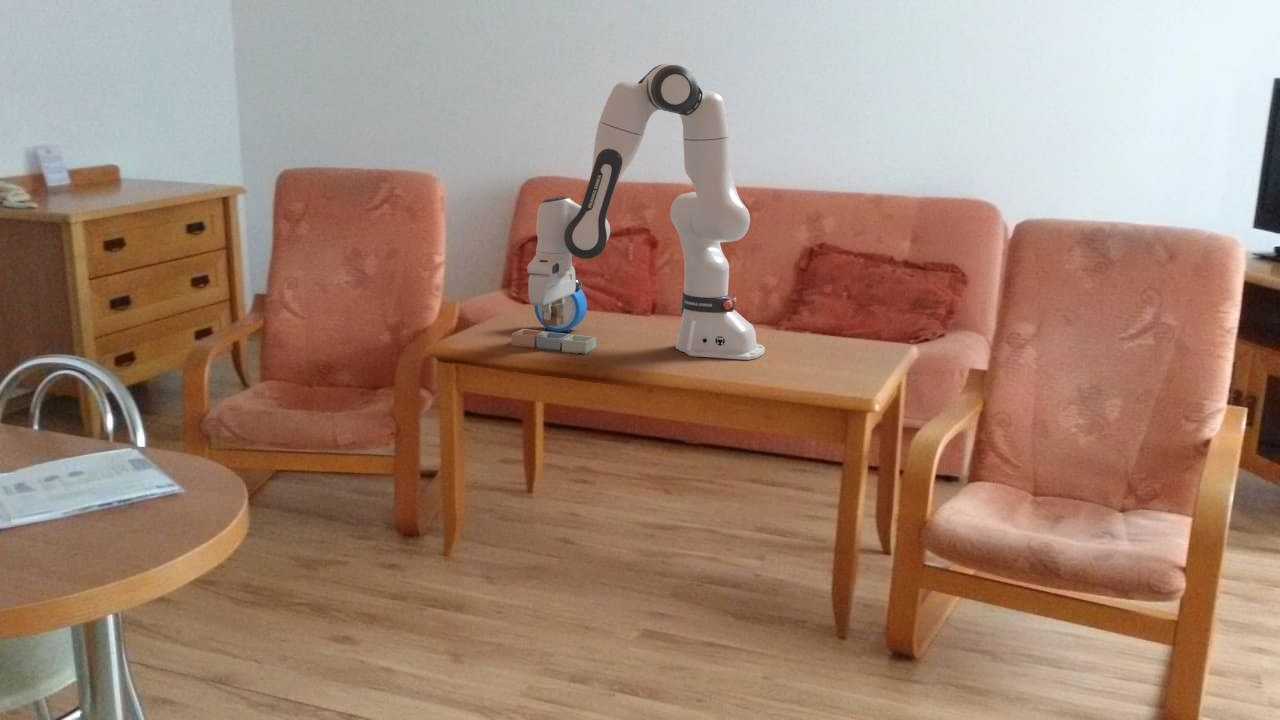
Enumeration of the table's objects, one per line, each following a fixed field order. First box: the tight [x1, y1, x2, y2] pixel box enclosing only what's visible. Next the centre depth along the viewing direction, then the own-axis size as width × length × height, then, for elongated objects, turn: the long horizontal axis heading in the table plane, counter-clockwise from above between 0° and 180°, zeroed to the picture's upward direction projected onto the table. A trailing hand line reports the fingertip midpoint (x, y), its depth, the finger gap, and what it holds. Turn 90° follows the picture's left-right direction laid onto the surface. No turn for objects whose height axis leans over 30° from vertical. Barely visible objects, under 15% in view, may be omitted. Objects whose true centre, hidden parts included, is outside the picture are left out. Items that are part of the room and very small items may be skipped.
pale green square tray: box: [561, 334, 597, 355], centre depth 281 cm, size 6×6×3 cm
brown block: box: [541, 303, 564, 326], centre depth 281 cm, size 4×4×5 cm
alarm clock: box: [533, 276, 588, 334], centre depth 300 cm, size 13×6×15 cm, turn 71°
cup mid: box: [536, 331, 571, 352], centre depth 283 cm, size 6×6×3 cm
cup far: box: [511, 328, 547, 349], centre depth 286 cm, size 6×6×3 cm
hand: (552, 317), depth 282 cm, fingers closed on brown block, 4 cm apart
